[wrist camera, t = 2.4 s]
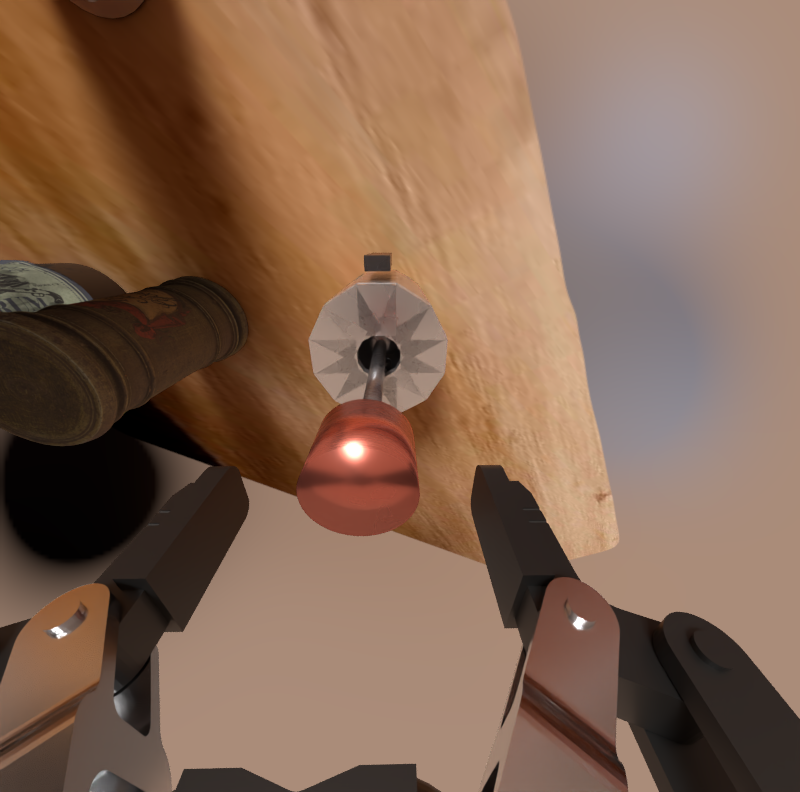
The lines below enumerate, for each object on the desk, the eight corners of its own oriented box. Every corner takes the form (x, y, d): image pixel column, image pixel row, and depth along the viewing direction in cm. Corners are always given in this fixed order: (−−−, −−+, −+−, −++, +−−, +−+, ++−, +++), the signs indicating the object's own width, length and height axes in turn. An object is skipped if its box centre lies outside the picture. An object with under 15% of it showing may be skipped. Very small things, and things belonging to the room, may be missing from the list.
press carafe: (333, 252, 29) (294, 256, 18) (432, 252, 29) (456, 256, 18) (343, 360, 35) (318, 416, 23) (427, 360, 35) (442, 415, 23)
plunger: (334, 297, 23) (214, 400, 8) (424, 298, 23) (483, 399, 8) (343, 380, 26) (271, 564, 11) (421, 379, 26) (457, 561, 11)
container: (261, 348, 34) (142, 440, 18) (191, 362, 34) (16, 461, 18) (226, 267, 30) (30, 292, 14) (147, 284, 30) (-128, 326, 14)
